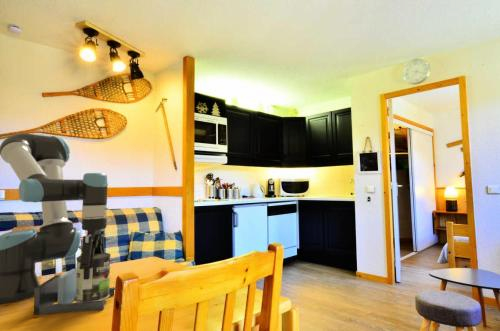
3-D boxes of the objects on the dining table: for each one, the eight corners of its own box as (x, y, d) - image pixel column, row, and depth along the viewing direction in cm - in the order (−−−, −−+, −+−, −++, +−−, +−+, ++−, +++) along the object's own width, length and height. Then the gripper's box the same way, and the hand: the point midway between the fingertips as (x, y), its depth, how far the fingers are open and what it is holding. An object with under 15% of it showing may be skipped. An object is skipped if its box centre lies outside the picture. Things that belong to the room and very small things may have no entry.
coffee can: (116, 293, 104) (116, 252, 105) (95, 305, 94) (96, 259, 95) (90, 292, 106) (91, 252, 107) (67, 303, 96) (69, 258, 97)
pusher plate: (57, 310, 93) (58, 278, 94) (71, 297, 104) (72, 268, 105) (62, 310, 93) (63, 277, 94) (76, 297, 104) (77, 268, 105)
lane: (33, 315, 91) (34, 288, 91) (55, 298, 104) (55, 275, 105) (103, 309, 94) (103, 284, 95) (115, 294, 108) (115, 271, 108)
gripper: (95, 220, 92) (93, 294, 90) (115, 214, 114) (113, 273, 112) (68, 221, 90) (66, 296, 89) (94, 215, 113) (92, 274, 111)
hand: (92, 283), depth 100 cm, fingers closed on coffee can, 10 cm apart
